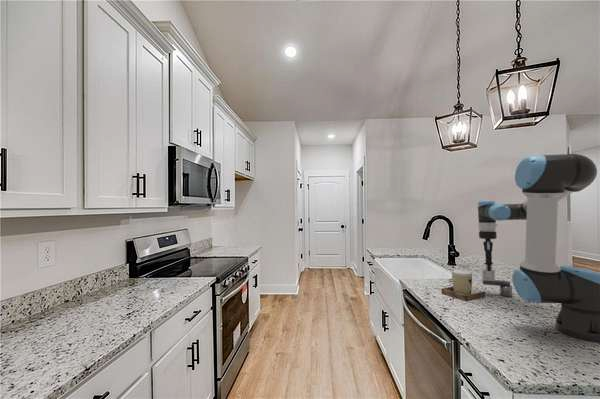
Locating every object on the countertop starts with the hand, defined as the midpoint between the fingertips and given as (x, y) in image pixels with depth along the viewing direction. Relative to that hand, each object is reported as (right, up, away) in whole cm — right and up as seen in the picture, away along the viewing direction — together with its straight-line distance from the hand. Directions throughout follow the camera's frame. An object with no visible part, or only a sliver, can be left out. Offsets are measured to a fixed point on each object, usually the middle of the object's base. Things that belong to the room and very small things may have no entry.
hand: (489, 277), depth 147 cm
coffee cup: (-13, -10, +1) cm, 16 cm away
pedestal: (+8, -9, -1) cm, 12 cm away
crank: (+4, -4, +1) cm, 6 cm away
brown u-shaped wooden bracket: (-13, -10, +2) cm, 16 cm away
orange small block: (+1, -10, +13) cm, 16 cm away
